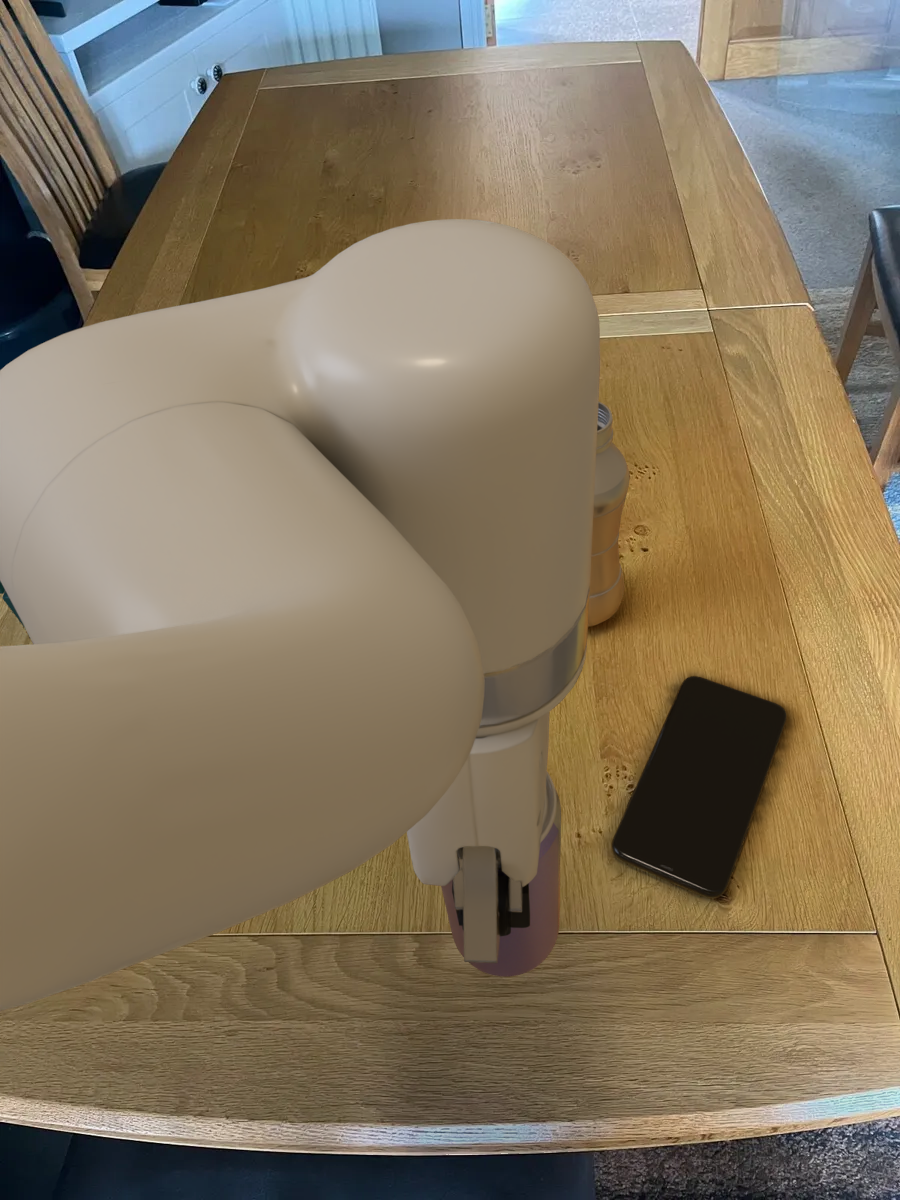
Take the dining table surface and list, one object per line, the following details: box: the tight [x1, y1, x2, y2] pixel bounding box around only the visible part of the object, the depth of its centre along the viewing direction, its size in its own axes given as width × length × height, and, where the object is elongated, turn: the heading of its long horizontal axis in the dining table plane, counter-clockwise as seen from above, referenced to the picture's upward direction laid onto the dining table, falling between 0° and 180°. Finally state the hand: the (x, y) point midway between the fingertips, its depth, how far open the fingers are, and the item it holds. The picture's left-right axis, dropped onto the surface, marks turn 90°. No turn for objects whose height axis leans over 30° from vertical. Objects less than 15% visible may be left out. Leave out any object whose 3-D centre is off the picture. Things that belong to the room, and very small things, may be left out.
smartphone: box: [611, 675, 788, 899], centre depth 65 cm, size 8×1×16 cm
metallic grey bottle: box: [588, 401, 631, 628], centre depth 69 cm, size 6×7×20 cm
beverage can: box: [440, 771, 562, 978], centre depth 46 cm, size 6×6×15 cm
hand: (497, 848), depth 44 cm, fingers closed on beverage can, 6 cm apart
